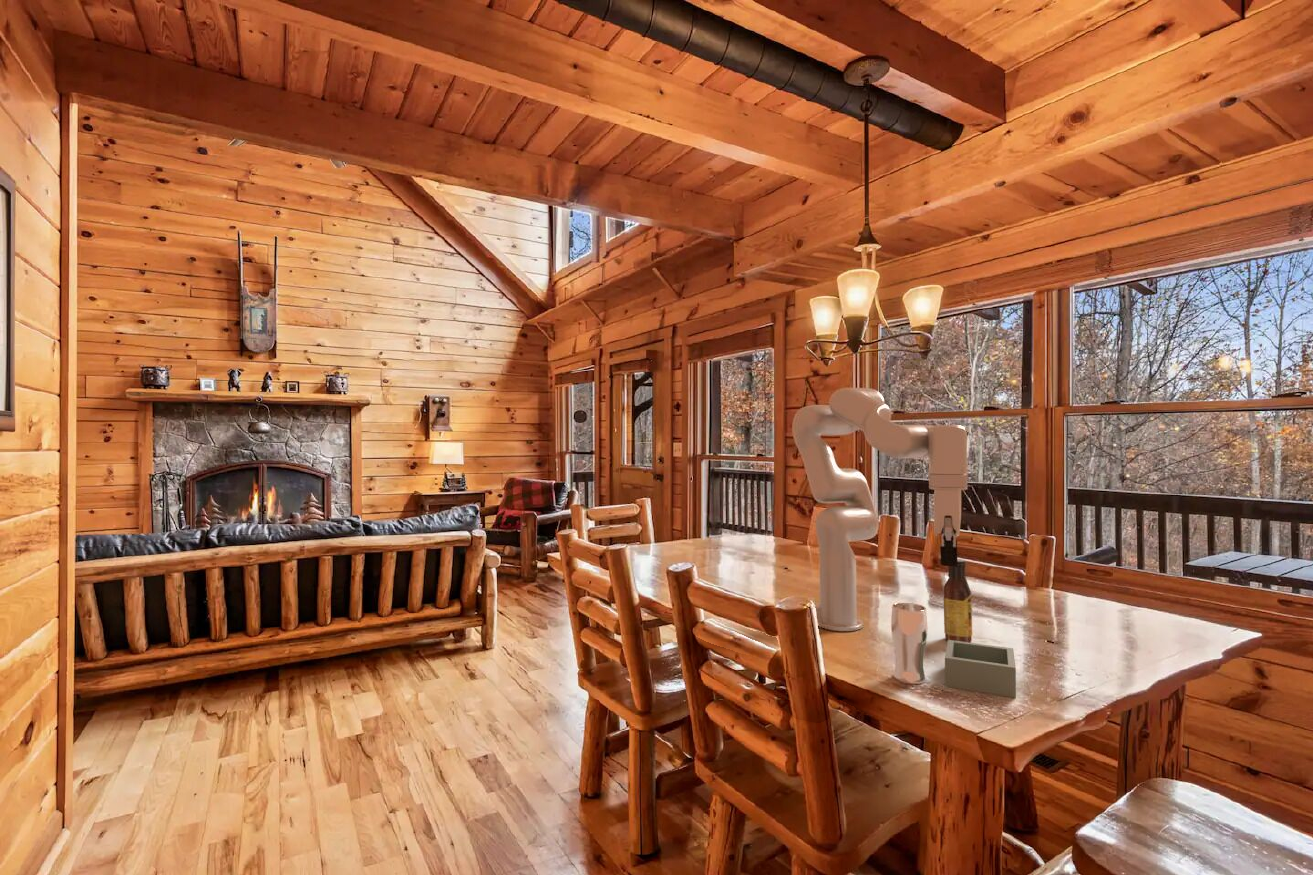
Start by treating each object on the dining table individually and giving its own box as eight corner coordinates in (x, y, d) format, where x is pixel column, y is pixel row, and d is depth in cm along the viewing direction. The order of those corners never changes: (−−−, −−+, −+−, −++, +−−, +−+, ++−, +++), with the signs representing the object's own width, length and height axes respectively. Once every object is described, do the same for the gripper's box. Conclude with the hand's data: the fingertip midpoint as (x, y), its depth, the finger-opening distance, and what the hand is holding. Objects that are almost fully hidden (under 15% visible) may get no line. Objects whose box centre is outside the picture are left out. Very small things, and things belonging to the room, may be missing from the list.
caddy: (945, 686, 126) (944, 657, 126) (948, 666, 137) (948, 639, 137) (1015, 697, 120) (1015, 667, 120) (1013, 675, 131) (1013, 648, 131)
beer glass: (885, 672, 133) (885, 602, 133) (917, 671, 134) (916, 601, 134) (901, 685, 126) (900, 611, 126) (934, 684, 127) (933, 610, 127)
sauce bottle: (975, 645, 150) (975, 563, 150) (947, 644, 151) (947, 562, 151) (967, 637, 156) (967, 557, 156) (941, 635, 158) (940, 557, 158)
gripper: (930, 479, 144) (931, 553, 144) (927, 484, 128) (928, 567, 128) (966, 480, 141) (967, 555, 141) (968, 485, 125) (969, 570, 125)
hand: (949, 561), depth 134 cm, fingers open, 9 cm apart
